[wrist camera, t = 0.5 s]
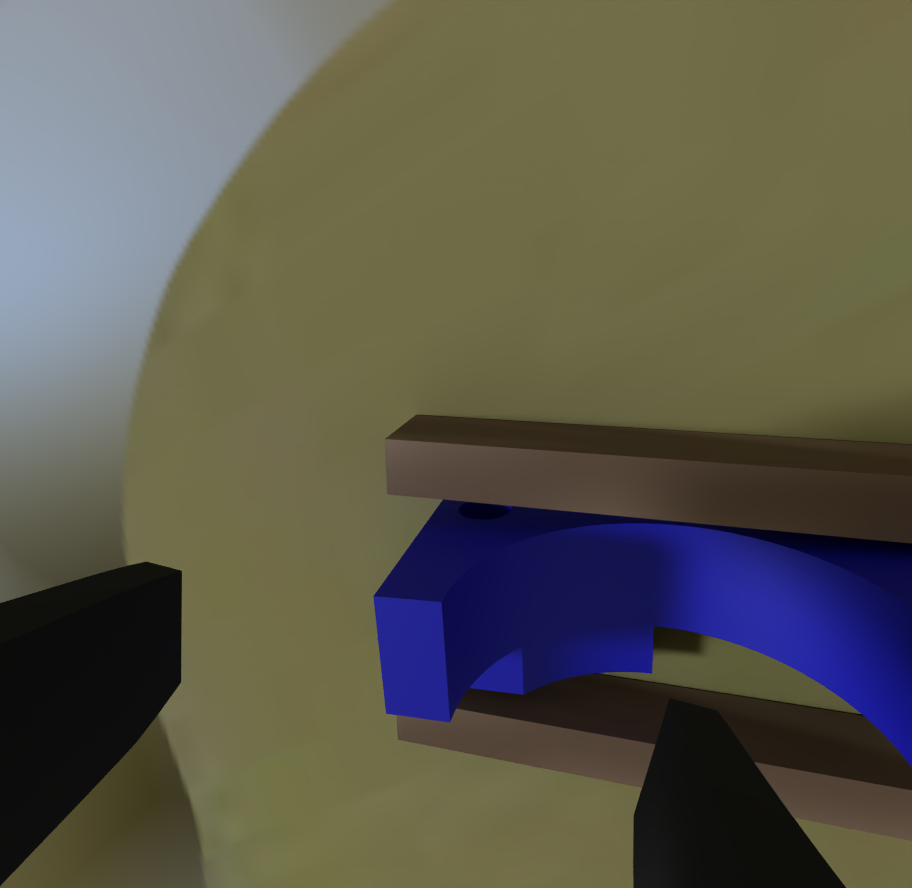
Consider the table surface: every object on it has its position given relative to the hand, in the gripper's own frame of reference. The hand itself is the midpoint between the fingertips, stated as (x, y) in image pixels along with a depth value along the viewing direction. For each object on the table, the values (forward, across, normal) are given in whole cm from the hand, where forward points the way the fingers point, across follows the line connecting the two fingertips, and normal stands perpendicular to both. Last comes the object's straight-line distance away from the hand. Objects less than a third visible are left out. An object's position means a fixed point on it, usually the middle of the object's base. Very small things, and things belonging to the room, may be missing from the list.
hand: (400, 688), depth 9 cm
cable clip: (+10, -5, +2) cm, 11 cm away
